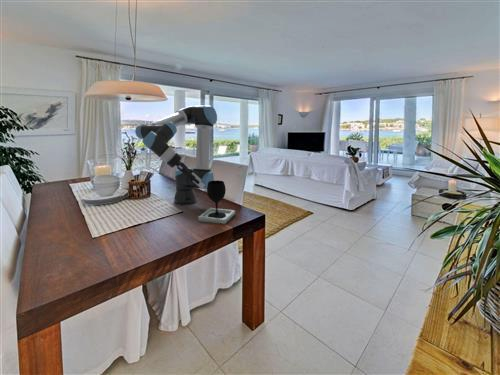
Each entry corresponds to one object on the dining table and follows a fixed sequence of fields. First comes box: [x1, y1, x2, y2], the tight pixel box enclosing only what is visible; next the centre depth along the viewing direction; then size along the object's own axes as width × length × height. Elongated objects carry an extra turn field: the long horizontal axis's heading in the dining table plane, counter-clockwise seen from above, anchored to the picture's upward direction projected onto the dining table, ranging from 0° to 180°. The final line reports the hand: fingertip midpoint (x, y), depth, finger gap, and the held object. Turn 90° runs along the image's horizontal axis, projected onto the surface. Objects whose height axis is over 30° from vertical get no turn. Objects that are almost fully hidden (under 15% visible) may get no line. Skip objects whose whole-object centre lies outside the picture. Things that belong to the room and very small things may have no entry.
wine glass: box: [206, 180, 227, 218], centre depth 141 cm, size 10×10×20 cm
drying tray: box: [197, 207, 236, 225], centre depth 143 cm, size 16×16×2 cm
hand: (201, 184), depth 136 cm, fingers open, 13 cm apart
